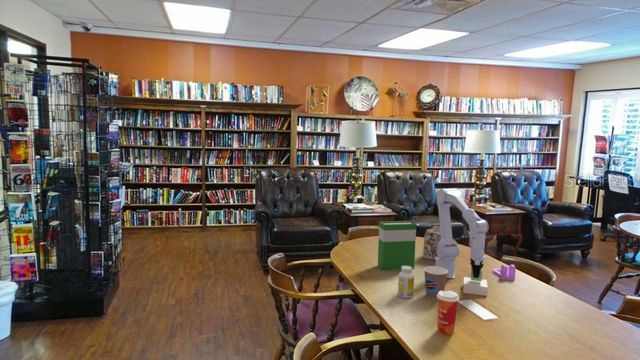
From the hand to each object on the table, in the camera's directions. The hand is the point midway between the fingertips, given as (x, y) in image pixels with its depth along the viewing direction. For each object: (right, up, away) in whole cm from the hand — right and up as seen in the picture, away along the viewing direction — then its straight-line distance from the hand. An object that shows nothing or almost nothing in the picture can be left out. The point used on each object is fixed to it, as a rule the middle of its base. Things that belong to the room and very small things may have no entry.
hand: (475, 275), depth 190 cm
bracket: (+22, -5, +23) cm, 32 cm away
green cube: (0, -2, 0) cm, 2 cm away
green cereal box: (-31, -3, +32) cm, 44 cm away
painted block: (0, -7, +1) cm, 7 cm away
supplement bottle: (-33, -7, -7) cm, 35 cm away
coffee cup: (-21, -8, -7) cm, 23 cm away
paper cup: (-25, -11, -39) cm, 48 cm away
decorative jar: (-4, -1, +50) cm, 51 cm away
